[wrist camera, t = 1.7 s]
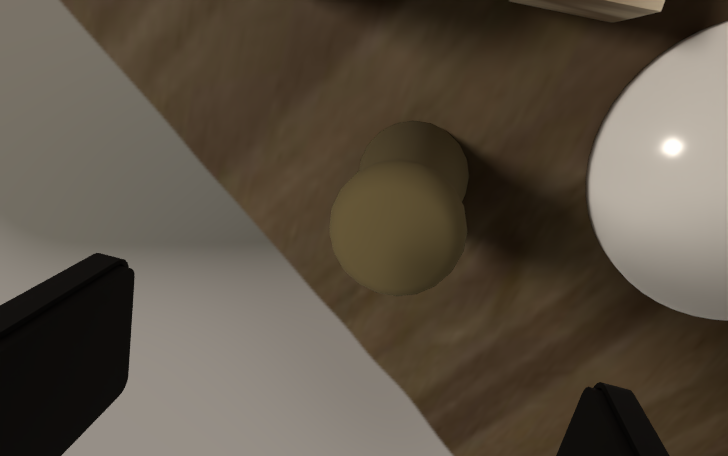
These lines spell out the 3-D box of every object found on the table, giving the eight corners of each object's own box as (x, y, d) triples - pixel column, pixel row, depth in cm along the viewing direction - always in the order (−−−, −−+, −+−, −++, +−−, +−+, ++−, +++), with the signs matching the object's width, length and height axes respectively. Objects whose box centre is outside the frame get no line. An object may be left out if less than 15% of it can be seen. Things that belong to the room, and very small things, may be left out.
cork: (346, 209, 30) (291, 290, 19) (376, 106, 28) (333, 133, 17) (447, 242, 29) (447, 342, 19) (485, 140, 27) (508, 189, 17)
